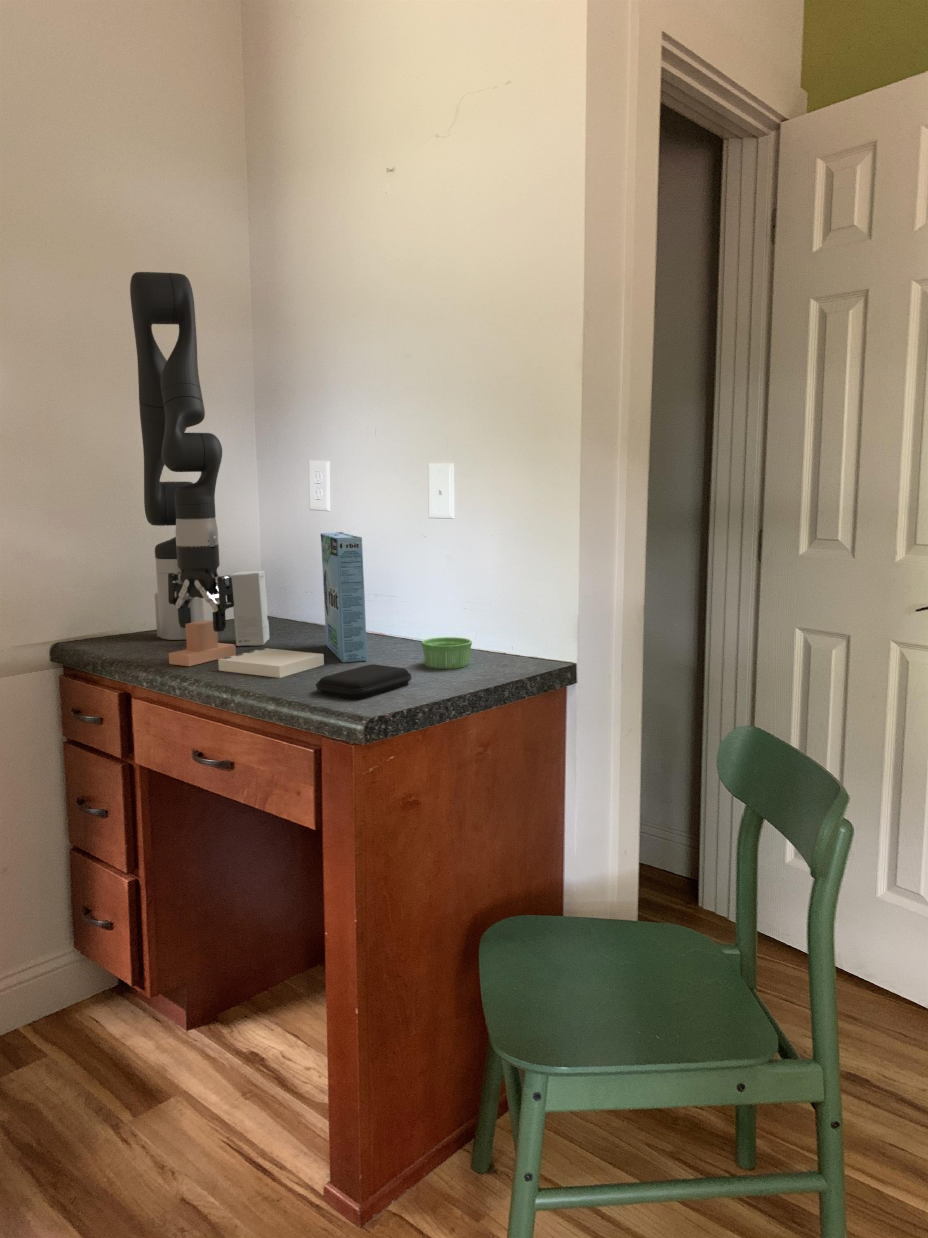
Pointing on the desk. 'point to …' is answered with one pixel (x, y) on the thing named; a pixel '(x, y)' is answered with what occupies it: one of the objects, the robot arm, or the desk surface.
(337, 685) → the carrying case or bag
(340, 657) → the gum box
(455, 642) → the ramekin
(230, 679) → the desk surface
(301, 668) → the plate
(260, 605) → the skincare box
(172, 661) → the stub
